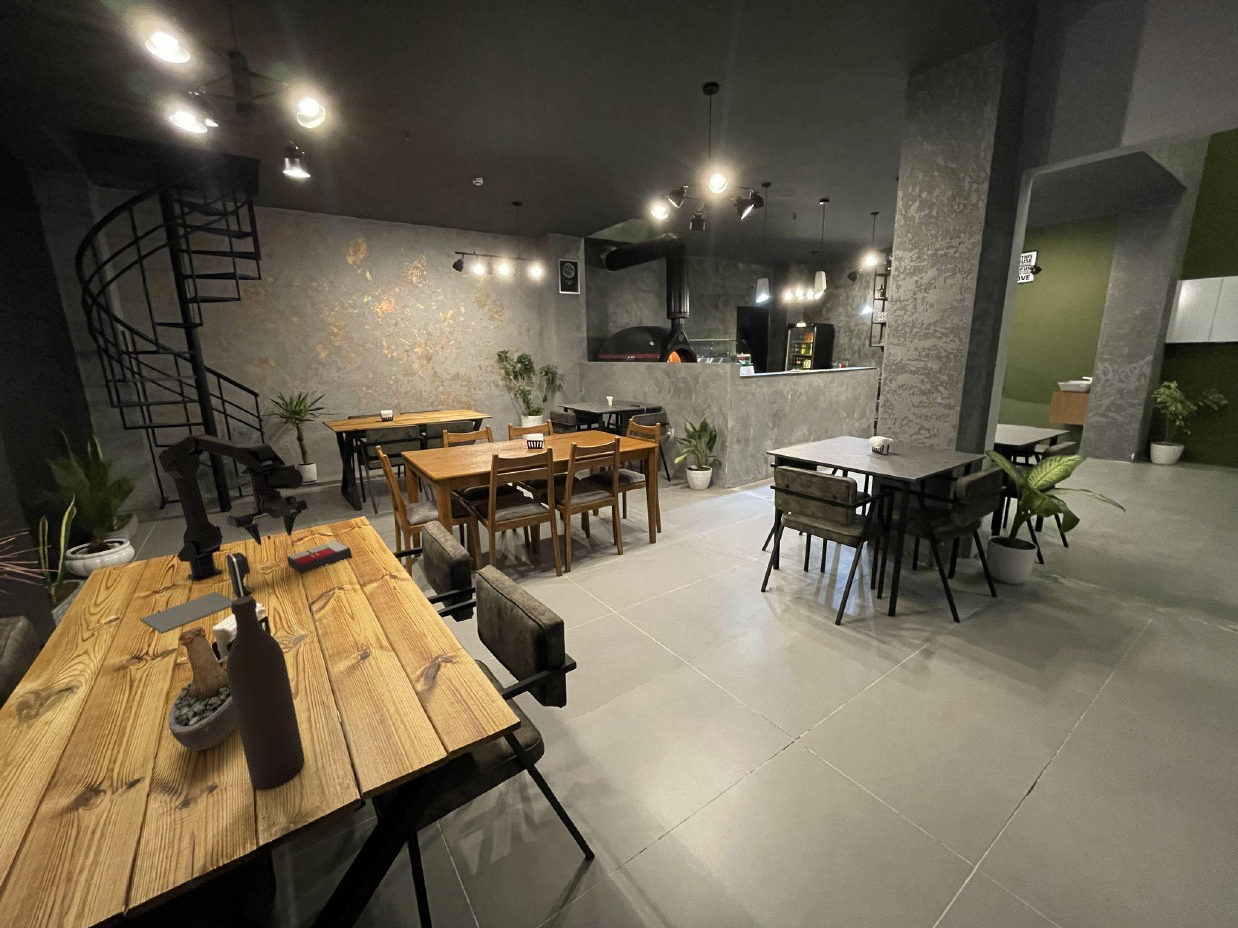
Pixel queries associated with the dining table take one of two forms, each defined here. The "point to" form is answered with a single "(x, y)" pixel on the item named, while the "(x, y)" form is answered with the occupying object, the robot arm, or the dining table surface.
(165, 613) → the mat
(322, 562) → the grey and red box
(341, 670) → the dining table surface
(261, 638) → the wine bottle
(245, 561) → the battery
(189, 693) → the planter
